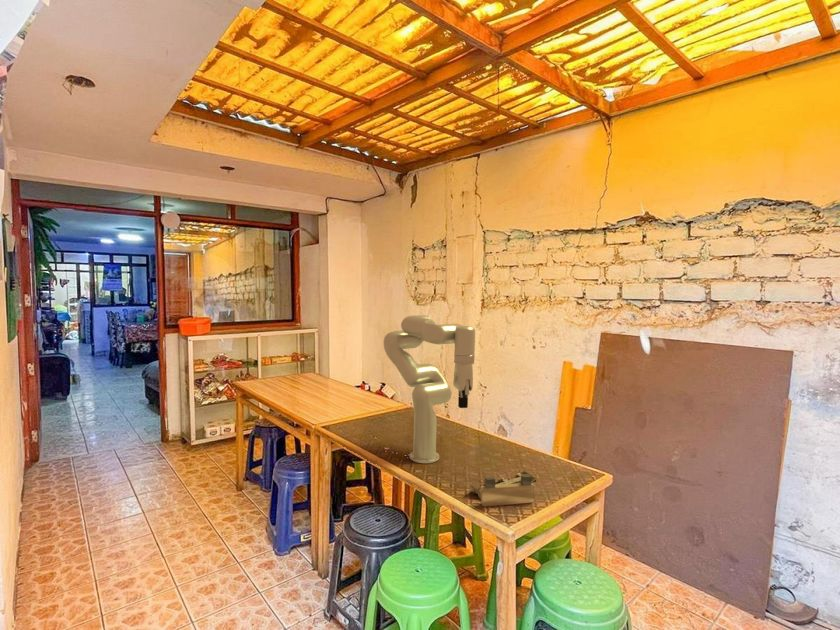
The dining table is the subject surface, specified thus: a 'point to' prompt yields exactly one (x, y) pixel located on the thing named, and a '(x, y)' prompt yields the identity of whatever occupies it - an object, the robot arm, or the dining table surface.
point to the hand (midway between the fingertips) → (462, 407)
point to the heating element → (502, 482)
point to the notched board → (507, 492)
